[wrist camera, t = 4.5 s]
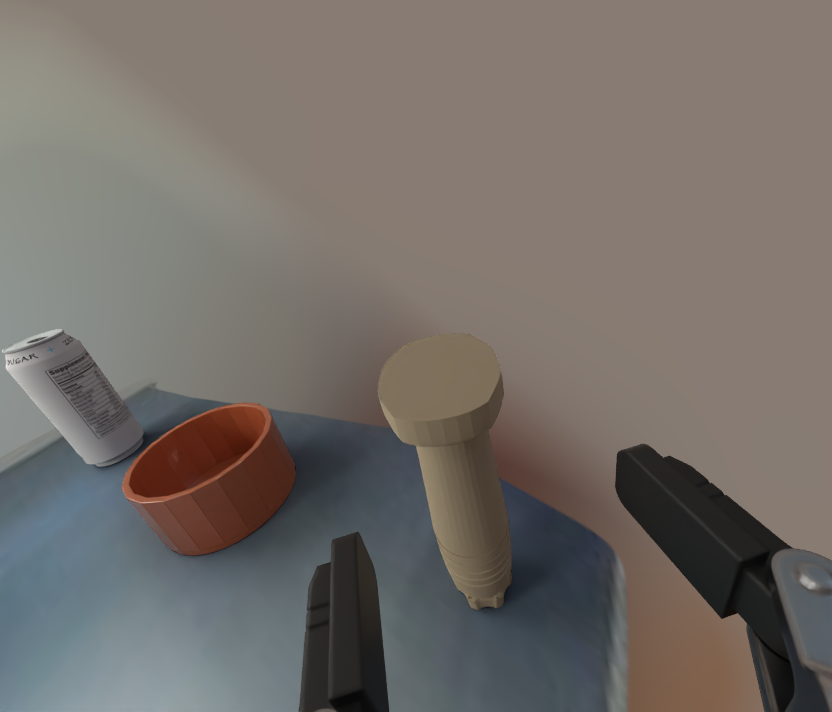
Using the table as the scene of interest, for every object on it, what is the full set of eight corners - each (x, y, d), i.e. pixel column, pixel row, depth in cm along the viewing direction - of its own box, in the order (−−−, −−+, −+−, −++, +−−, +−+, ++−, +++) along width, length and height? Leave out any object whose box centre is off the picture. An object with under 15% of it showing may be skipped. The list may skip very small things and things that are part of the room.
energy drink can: (120, 435, 47) (41, 330, 40) (159, 432, 46) (83, 323, 39) (77, 471, 42) (-24, 358, 35) (119, 469, 40) (23, 350, 33)
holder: (282, 434, 40) (259, 388, 37) (310, 500, 30) (283, 445, 28) (167, 490, 35) (132, 443, 33) (159, 587, 26) (109, 533, 23)
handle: (513, 530, 24) (484, 326, 17) (541, 643, 19) (515, 406, 12) (441, 539, 25) (385, 345, 18) (447, 652, 19) (369, 431, 12)
